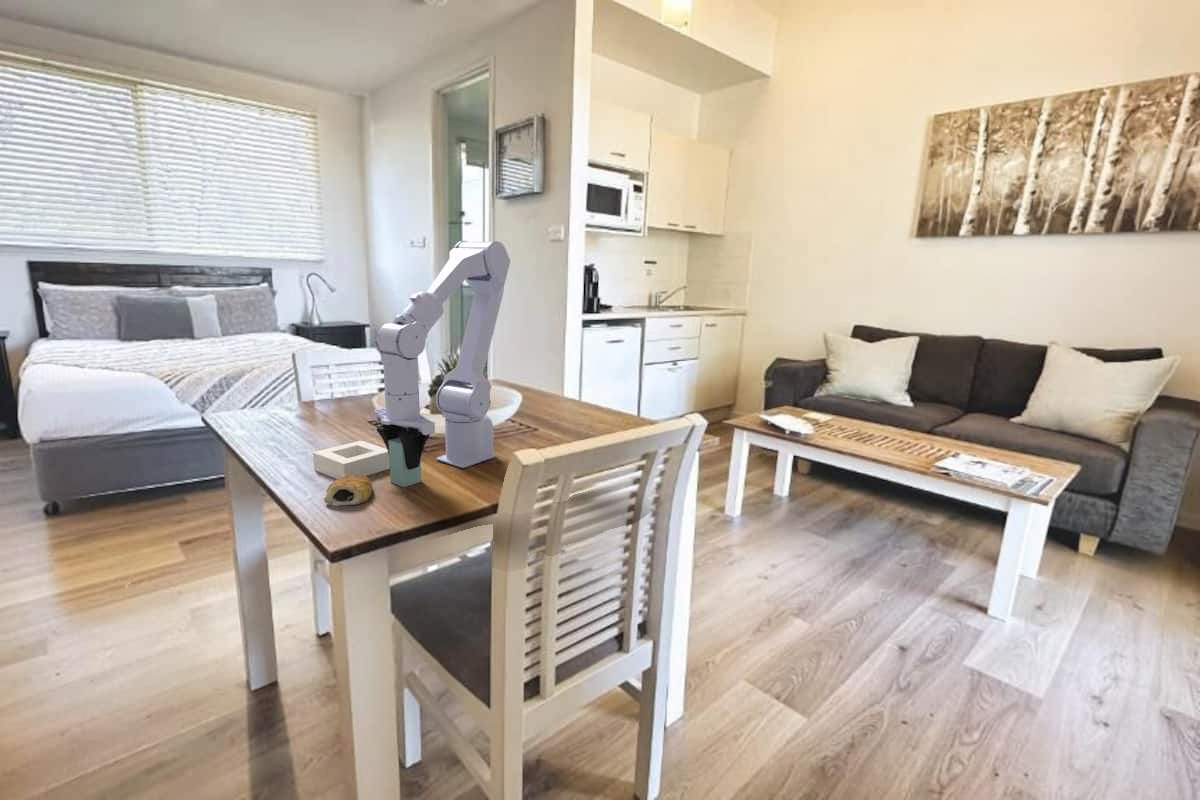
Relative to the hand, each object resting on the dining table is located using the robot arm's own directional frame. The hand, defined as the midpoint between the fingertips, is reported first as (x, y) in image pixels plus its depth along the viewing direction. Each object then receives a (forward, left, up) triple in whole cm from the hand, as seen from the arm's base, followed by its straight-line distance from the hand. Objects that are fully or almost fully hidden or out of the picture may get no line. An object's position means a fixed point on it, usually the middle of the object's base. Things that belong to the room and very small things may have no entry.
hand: (405, 465), depth 103 cm
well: (+2, -13, -3) cm, 14 cm away
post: (0, 0, -3) cm, 3 cm away
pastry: (+10, -1, -4) cm, 11 cm away
